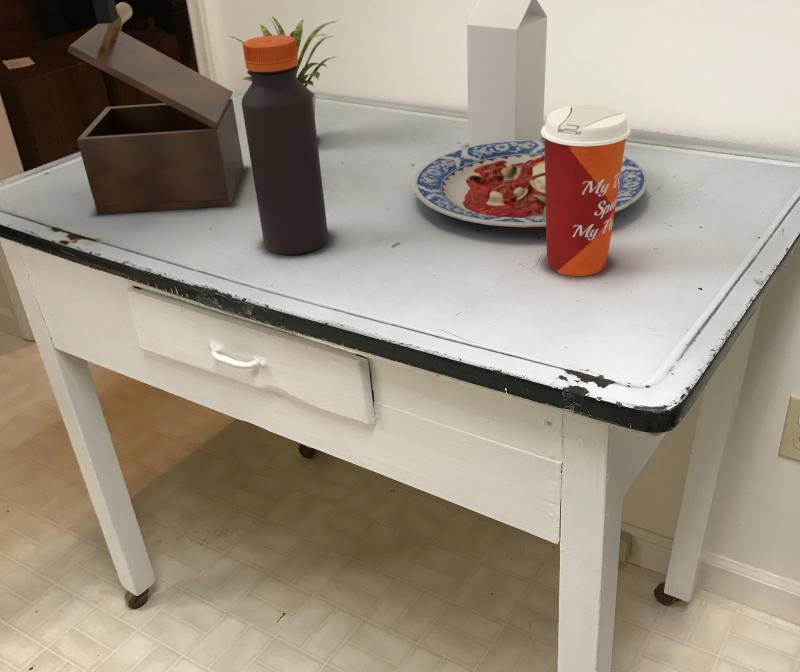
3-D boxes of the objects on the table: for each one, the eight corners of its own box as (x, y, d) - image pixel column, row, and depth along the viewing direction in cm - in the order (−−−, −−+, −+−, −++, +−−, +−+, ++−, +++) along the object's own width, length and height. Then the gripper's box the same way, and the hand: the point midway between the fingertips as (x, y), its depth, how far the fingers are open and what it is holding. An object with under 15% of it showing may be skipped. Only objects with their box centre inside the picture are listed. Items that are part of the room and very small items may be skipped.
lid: (67, 52, 89) (82, 6, 87) (99, 26, 100) (114, -15, 97) (214, 129, 94) (232, 88, 92) (230, 97, 105) (247, 59, 102)
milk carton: (515, 155, 108) (518, -9, 97) (467, 147, 111) (465, -13, 100) (543, 139, 112) (549, -20, 101) (496, 131, 116) (497, -23, 105)
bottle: (258, 257, 87) (224, 51, 76) (270, 229, 93) (240, 34, 82) (324, 255, 87) (299, 48, 75) (332, 228, 92) (310, 30, 81)
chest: (97, 214, 100) (76, 139, 95) (123, 176, 110) (106, 106, 105) (230, 205, 99) (216, 130, 94) (244, 168, 110) (232, 98, 105)
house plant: (376, 134, 118) (367, 6, 108) (314, 166, 109) (298, 29, 99) (296, 122, 125) (281, 0, 115) (231, 151, 115) (209, 22, 106)
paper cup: (596, 288, 78) (609, 135, 70) (521, 270, 81) (525, 123, 73) (631, 255, 83) (646, 108, 75) (558, 239, 87) (566, 98, 79)
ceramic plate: (405, 166, 107) (403, 142, 105) (608, 149, 107) (610, 125, 106) (424, 254, 86) (423, 226, 84) (678, 232, 86) (682, 204, 85)
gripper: (123, -265, 79) (176, 9, 93) (-16, -254, 80) (58, 17, 93) (101, -271, 73) (162, 23, 87) (-49, -259, 73) (35, 32, 87)
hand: (108, 20), depth 90 cm, fingers closed
